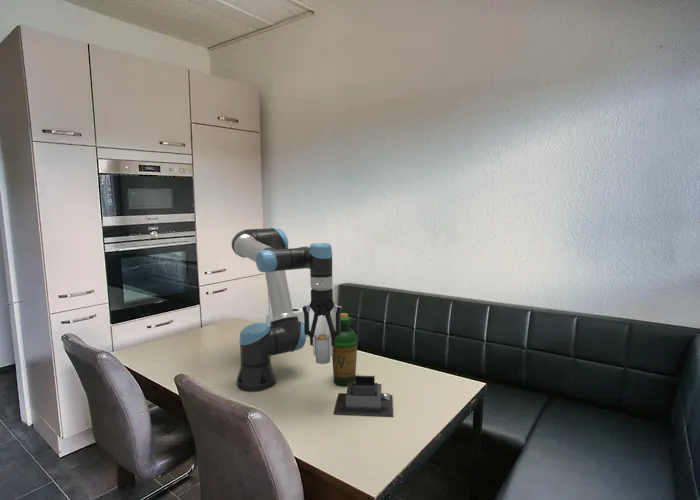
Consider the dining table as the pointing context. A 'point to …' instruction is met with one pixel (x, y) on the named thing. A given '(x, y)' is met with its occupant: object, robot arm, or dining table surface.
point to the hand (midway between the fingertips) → (323, 354)
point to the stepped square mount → (364, 399)
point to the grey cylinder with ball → (322, 349)
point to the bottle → (345, 353)
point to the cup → (299, 313)
